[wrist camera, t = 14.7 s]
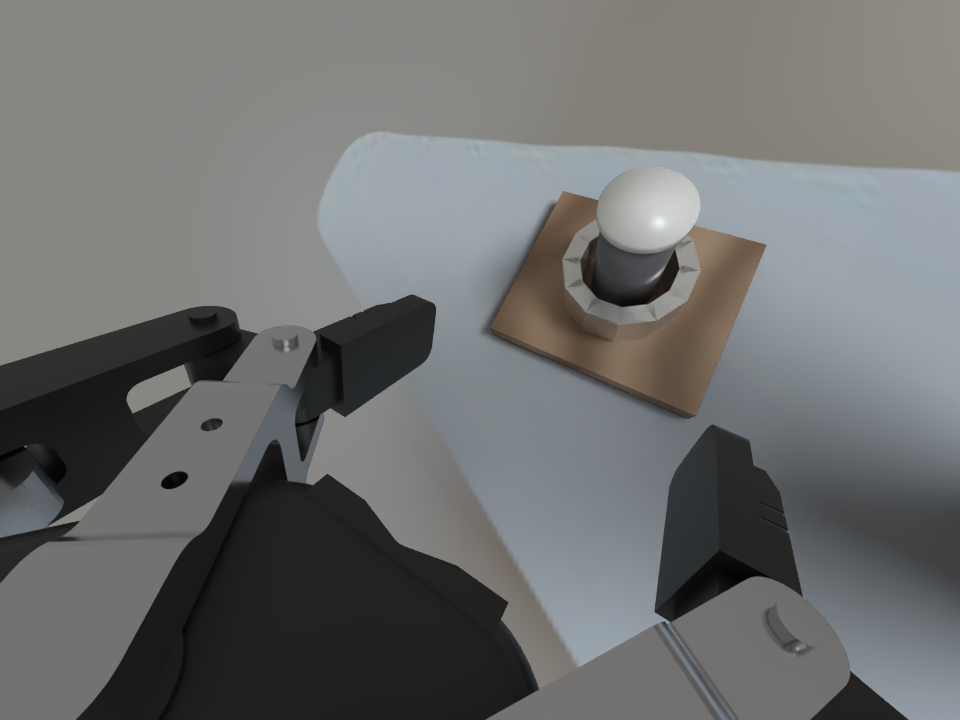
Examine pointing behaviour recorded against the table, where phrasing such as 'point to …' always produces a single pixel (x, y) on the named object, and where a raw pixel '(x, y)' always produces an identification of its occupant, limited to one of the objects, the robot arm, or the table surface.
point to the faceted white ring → (632, 319)
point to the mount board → (674, 348)
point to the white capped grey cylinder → (640, 232)
